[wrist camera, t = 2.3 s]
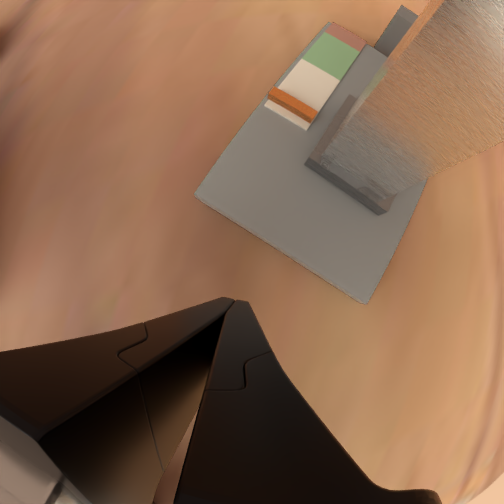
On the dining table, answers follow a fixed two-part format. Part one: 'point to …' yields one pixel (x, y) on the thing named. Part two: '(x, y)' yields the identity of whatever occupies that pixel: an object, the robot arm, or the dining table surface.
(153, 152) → the dining table surface
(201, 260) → the dining table surface
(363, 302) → the gauge board
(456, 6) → the bar
